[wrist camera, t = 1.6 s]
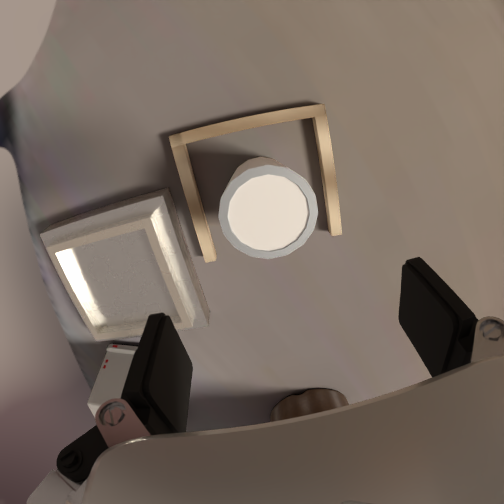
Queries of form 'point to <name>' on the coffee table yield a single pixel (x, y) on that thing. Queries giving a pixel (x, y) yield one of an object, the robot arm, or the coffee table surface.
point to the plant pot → (308, 404)
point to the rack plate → (128, 267)
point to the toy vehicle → (111, 375)
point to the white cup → (267, 209)
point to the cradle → (248, 122)
